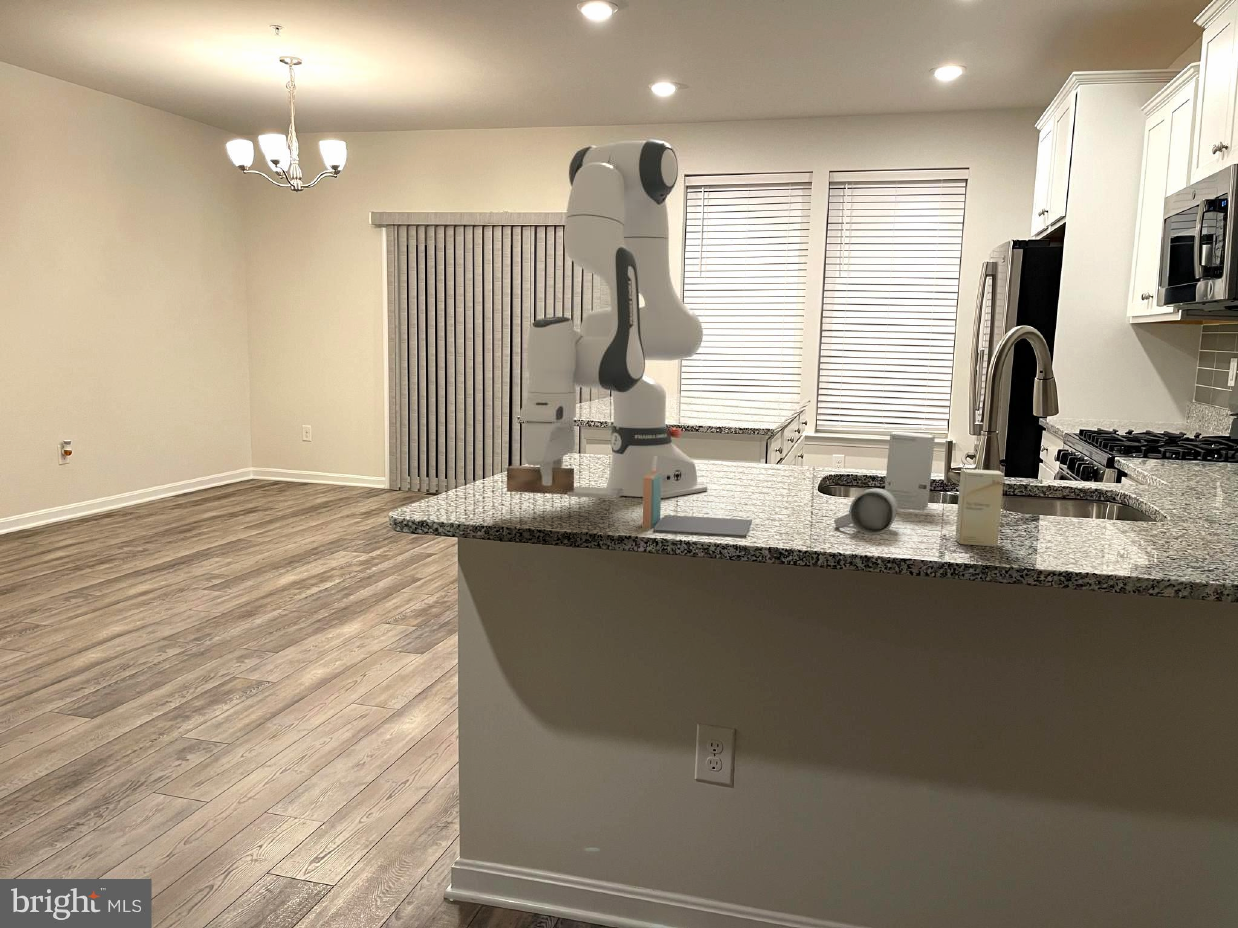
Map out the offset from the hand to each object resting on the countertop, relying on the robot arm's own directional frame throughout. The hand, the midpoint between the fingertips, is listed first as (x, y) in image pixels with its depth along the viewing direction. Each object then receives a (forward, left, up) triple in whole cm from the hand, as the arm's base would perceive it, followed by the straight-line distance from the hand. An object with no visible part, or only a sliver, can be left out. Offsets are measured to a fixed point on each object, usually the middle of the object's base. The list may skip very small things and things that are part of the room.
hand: (551, 483), depth 165 cm
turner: (-2, +2, -2) cm, 3 cm away
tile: (-13, +13, -6) cm, 20 cm away
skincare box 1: (-67, +25, -7) cm, 72 cm away
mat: (-20, +20, -6) cm, 29 cm away
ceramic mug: (-43, +36, -7) cm, 57 cm away
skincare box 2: (-52, +52, -7) cm, 74 cm away
